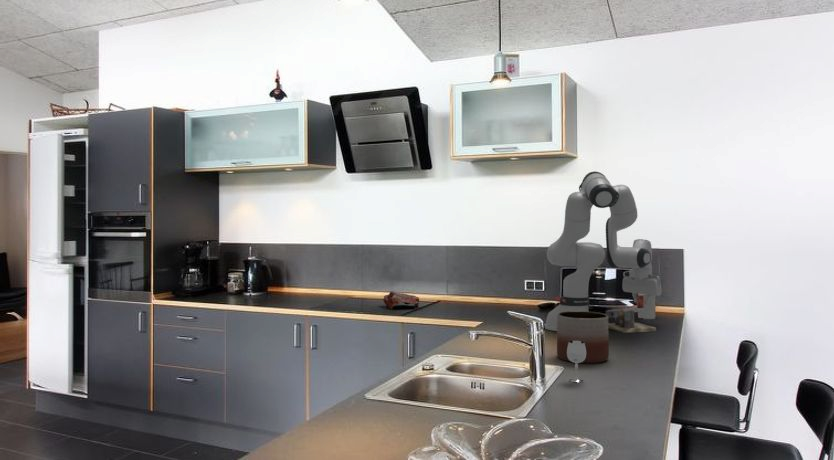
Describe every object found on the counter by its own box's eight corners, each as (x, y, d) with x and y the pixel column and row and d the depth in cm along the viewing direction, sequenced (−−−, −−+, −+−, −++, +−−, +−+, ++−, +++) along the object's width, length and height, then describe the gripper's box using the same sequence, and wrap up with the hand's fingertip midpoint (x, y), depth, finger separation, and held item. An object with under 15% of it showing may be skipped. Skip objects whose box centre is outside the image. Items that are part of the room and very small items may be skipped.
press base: (623, 332, 265) (623, 312, 265) (605, 326, 280) (605, 307, 280) (655, 331, 269) (656, 310, 269) (636, 325, 284) (636, 306, 283)
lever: (612, 318, 271) (612, 300, 271) (604, 317, 275) (604, 298, 275) (646, 313, 284) (646, 296, 284) (638, 312, 288) (638, 295, 288)
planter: (600, 367, 204) (601, 320, 204) (549, 360, 213) (550, 315, 213) (614, 356, 219) (614, 313, 219) (566, 351, 229) (566, 309, 228)
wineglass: (564, 378, 189) (564, 340, 188) (582, 378, 189) (582, 340, 189) (570, 383, 183) (570, 344, 183) (589, 383, 183) (589, 343, 183)
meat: (405, 304, 357) (405, 287, 357) (428, 308, 341) (428, 290, 341) (376, 307, 344) (376, 289, 344) (398, 311, 328) (398, 293, 327)
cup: (656, 319, 300) (656, 295, 300) (639, 318, 302) (639, 294, 302) (653, 316, 308) (653, 293, 308) (636, 316, 310) (637, 292, 310)
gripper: (665, 275, 277) (664, 305, 277) (629, 271, 295) (629, 300, 295) (655, 276, 274) (655, 306, 274) (620, 272, 292) (620, 301, 292)
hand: (641, 303), depth 285 cm, fingers open, 4 cm apart
